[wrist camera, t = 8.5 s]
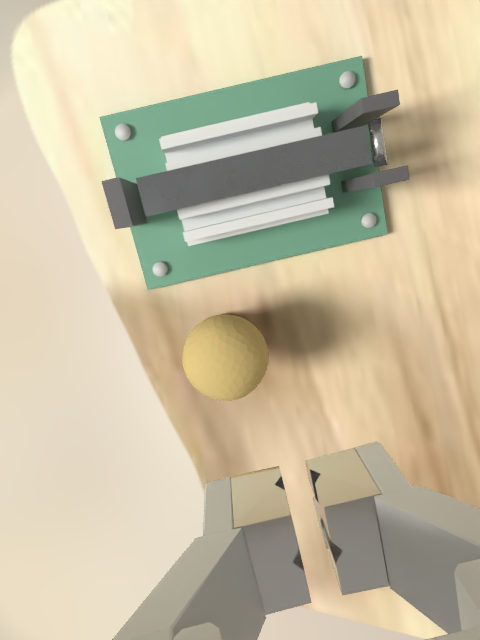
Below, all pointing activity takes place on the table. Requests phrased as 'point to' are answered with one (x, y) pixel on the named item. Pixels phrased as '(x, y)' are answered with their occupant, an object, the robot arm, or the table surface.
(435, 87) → the table surface
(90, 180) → the table surface
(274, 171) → the strap
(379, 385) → the table surface
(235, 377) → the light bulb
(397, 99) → the board
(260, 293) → the table surface
